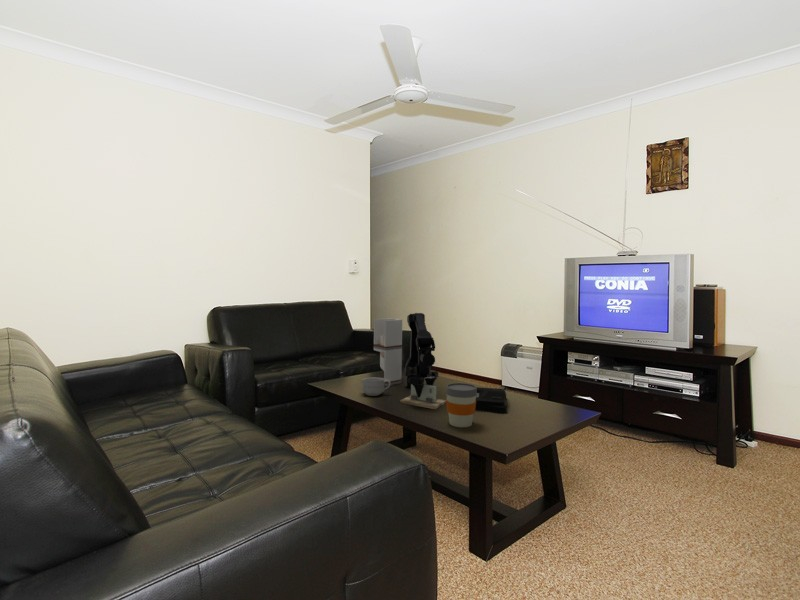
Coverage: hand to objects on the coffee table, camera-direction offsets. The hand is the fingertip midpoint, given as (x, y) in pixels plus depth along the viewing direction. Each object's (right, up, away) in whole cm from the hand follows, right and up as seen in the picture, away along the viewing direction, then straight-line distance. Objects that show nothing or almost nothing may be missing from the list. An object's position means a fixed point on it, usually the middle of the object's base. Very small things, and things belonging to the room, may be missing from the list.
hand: (423, 395), depth 204 cm
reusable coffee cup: (+13, -6, -28) cm, 31 cm away
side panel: (0, -4, 0) cm, 4 cm away
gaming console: (+29, -5, 0) cm, 29 cm away
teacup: (-23, -3, +13) cm, 26 cm away
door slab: (0, -2, 0) cm, 2 cm away
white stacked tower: (-18, -2, +38) cm, 42 cm away
